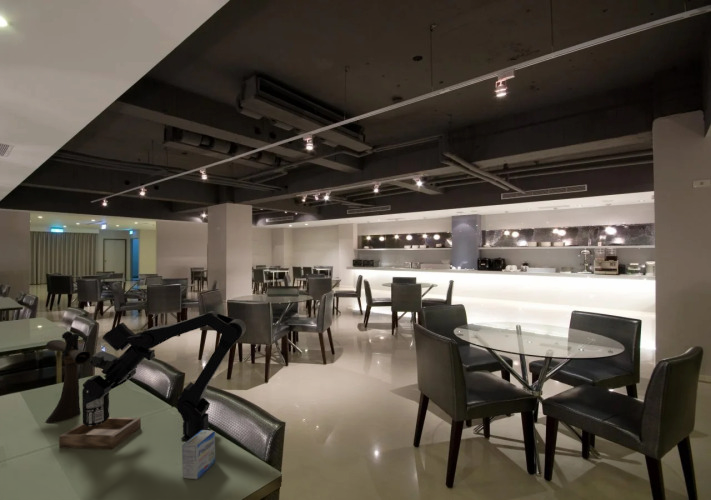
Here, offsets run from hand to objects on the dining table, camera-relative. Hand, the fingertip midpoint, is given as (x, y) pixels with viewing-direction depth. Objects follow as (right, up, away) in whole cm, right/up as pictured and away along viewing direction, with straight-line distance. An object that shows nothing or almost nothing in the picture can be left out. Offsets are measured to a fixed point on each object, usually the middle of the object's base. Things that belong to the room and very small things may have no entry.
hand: (91, 398), depth 107 cm
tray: (+2, -13, +2) cm, 14 cm away
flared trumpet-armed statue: (-22, -14, +16) cm, 31 cm away
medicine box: (+40, -13, -14) cm, 44 cm away
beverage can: (+1, -7, 0) cm, 7 cm away
